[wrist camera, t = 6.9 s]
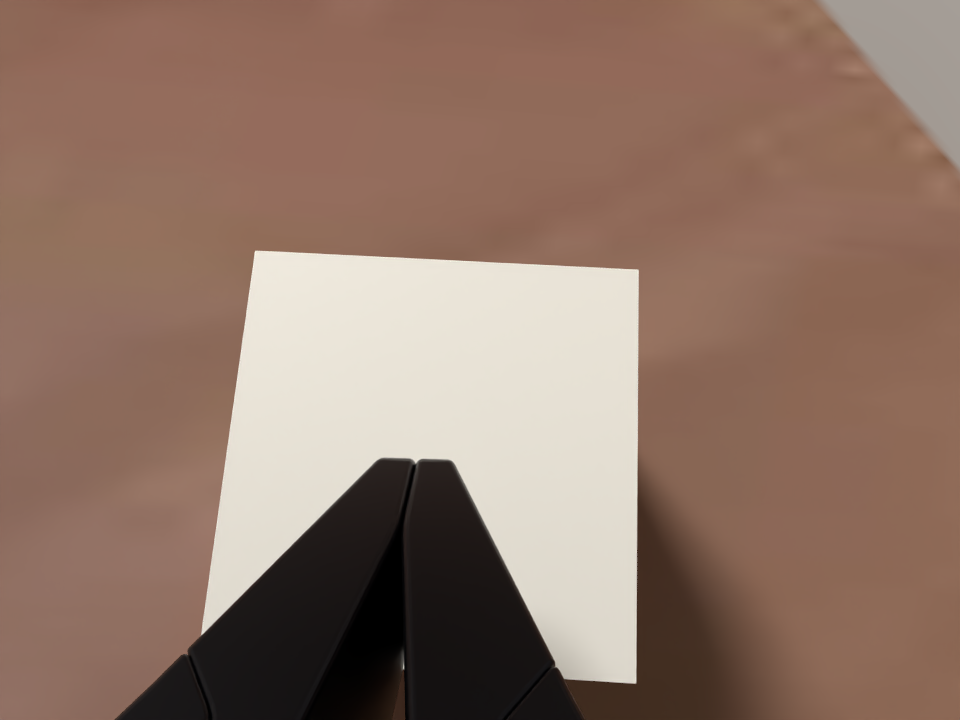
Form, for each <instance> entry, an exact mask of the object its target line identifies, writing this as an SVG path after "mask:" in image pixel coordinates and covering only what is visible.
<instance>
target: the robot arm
mask: <svg viewBox="0 0 960 720" xmlns="http://www.w3.org/2000/svg"><path fill="white" fill-rule="evenodd" d="M403 665H404V681H405V720H586V719H585V717H584V716H583V714H582V712H581V710H580V708H579V707H578V705H577V703H576V701H575V699H574V697H573V695H572V693H571V691H570V690H569V688H568V686H567V684H566V682H565V680H564V678H563V676H562V674H561V672H560V670H559V669H558V668H557V667H555V661H554V659H553V657H552V655H551V653H550V651H549V649H548V647H547V645H546V643H545V641H544V639H543V637H542V635H541V633H540V631H539V629H538V627H537V625H536V623H535V621H534V619H533V617H532V615H531V613H530V611H529V609H528V607H527V605H526V604H525V602H524V600H523V598H522V596H521V594H520V592H519V590H518V588H517V586H516V584H515V582H514V580H513V578H512V576H511V574H510V572H509V570H508V568H507V566H506V564H505V562H504V560H503V558H502V556H501V554H500V552H499V550H498V548H497V546H496V544H495V542H494V540H493V538H492V536H491V534H490V532H489V530H488V529H487V527H486V525H485V523H484V521H483V519H482V517H481V515H480V513H479V511H478V509H477V507H476V505H475V503H474V501H473V499H472V497H471V495H470V493H469V491H468V489H467V487H466V485H465V483H464V481H463V479H462V477H461V475H460V473H459V471H458V469H457V467H456V465H455V464H454V462H453V461H451V460H448V459H420V460H418V461H417V463H415V462H414V460H413V459H410V458H386V457H384V458H380V459H378V460H376V461H375V462H374V463H373V464H372V465H371V466H370V467H369V468H368V469H367V470H366V471H365V472H364V473H363V474H362V475H361V476H360V477H359V478H358V479H357V480H356V481H355V482H354V483H353V484H352V485H351V486H350V487H349V488H348V489H347V490H346V491H345V492H344V493H343V494H342V495H341V496H340V497H339V498H338V499H337V500H336V501H335V502H334V503H333V504H332V505H331V506H330V507H329V508H328V509H327V510H326V511H325V512H324V513H323V514H322V515H321V516H320V517H319V518H318V519H317V520H316V521H315V522H314V523H313V524H312V525H311V526H310V527H309V528H308V529H307V530H306V531H305V532H304V533H303V534H302V535H301V536H300V537H299V538H298V539H297V540H296V541H295V542H294V543H293V544H292V545H291V546H290V547H289V548H288V549H287V550H286V551H285V552H284V553H283V554H282V555H281V556H280V557H279V558H278V559H277V560H276V561H275V562H274V563H273V564H272V565H271V566H270V567H269V568H268V569H267V570H266V571H265V572H264V573H263V574H262V575H261V576H260V577H259V578H258V579H257V580H256V581H255V582H254V583H253V584H252V585H251V586H250V587H249V588H248V589H247V590H246V591H245V592H244V593H243V594H242V595H241V596H240V597H239V598H238V599H237V600H236V601H235V602H234V603H233V604H232V605H231V606H230V607H229V608H228V609H227V610H226V611H225V612H224V613H223V614H222V615H221V616H220V617H219V618H218V619H217V620H216V621H215V622H214V623H213V624H212V625H211V626H210V627H209V628H208V629H207V630H206V631H205V632H204V633H203V634H202V635H201V636H200V637H199V638H198V639H197V640H196V641H195V642H194V643H193V644H192V645H191V646H190V647H189V649H188V655H187V654H183V655H181V656H180V657H179V658H178V659H177V660H176V661H175V662H174V663H173V664H172V665H171V666H170V667H169V668H168V669H167V670H166V671H165V672H164V673H163V674H162V675H161V676H160V677H159V678H158V679H157V680H156V681H155V682H154V683H153V684H152V685H151V686H150V687H149V688H147V689H146V690H145V691H144V692H143V693H142V694H141V695H140V696H139V697H138V698H137V699H136V700H135V701H134V702H133V703H132V704H131V705H130V706H129V707H127V708H126V709H125V710H124V711H123V712H122V713H121V714H120V715H119V716H118V717H117V718H116V719H115V720H392V716H393V711H394V707H395V702H396V698H397V693H398V689H399V684H400V680H401V675H402V670H403Z"/></svg>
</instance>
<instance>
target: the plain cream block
mask: <svg viewBox="0 0 960 720" xmlns="http://www.w3.org/2000/svg"><path fill="white" fill-rule="evenodd" d="M637 452H638V270H632V269H612V268H592V267H572V266H552V265H532V264H512V263H492V262H472V261H452V260H432V259H412V258H391V257H371V256H351V255H331V254H311V253H291V252H271V251H255V256H254V263H253V270H252V277H251V284H250V292H249V299H248V306H247V313H246V320H245V327H244V334H243V341H242V348H241V356H240V363H239V370H238V377H237V384H236V391H235V398H234V405H233V412H232V419H231V427H230V434H229V441H228V448H227V455H226V462H225V469H224V476H223V483H222V491H221V498H220V505H219V512H218V519H217V526H216V533H215V540H214V547H213V555H212V562H211V569H210V576H209V583H208V590H207V597H206V604H205V611H204V618H203V626H202V633H201V635H202V634H203V633H204V632H205V631H206V630H207V629H208V628H209V627H210V626H211V625H212V624H213V623H214V622H215V621H216V620H217V619H218V618H219V617H220V616H221V615H222V614H223V613H224V612H225V611H226V610H227V609H228V608H229V607H230V606H231V605H232V604H233V603H234V602H235V601H236V600H237V599H238V598H239V597H240V596H241V595H242V594H243V593H244V592H245V591H246V590H247V589H248V588H249V587H250V586H251V585H252V584H253V583H254V582H255V581H256V580H257V579H258V578H259V577H260V576H261V575H262V574H263V573H264V572H265V571H266V570H267V569H268V568H269V567H270V566H271V565H272V564H273V563H274V562H275V561H276V560H277V559H278V558H279V557H280V556H281V555H282V554H283V553H284V552H285V551H286V550H287V549H288V548H289V547H290V546H291V545H292V544H293V543H294V542H295V541H296V540H297V539H298V538H299V537H300V536H301V535H302V534H303V533H304V532H305V531H306V530H307V529H308V528H309V527H310V526H311V525H312V524H313V523H314V522H315V521H316V520H317V519H318V518H319V517H320V516H321V515H322V514H323V513H324V512H325V511H326V510H327V509H328V508H329V507H330V506H331V505H332V504H333V503H334V502H335V501H336V500H337V499H338V498H339V497H340V496H341V495H342V494H343V493H344V492H345V491H346V490H347V489H348V488H349V487H350V486H351V485H352V484H353V483H354V482H355V481H356V480H357V479H358V478H359V477H360V476H361V475H362V474H363V473H364V472H365V471H366V470H367V469H368V468H369V467H370V466H371V465H372V464H373V463H374V462H375V461H376V460H378V459H380V458H384V457H386V458H410V459H413V460H414V462H415V463H417V461H418V460H420V459H448V460H451V461H453V462H454V464H455V465H456V467H457V469H458V471H459V473H460V475H461V477H462V479H463V481H464V483H465V485H466V487H467V489H468V491H469V493H470V495H471V497H472V499H473V501H474V503H475V505H476V507H477V509H478V511H479V513H480V515H481V517H482V519H483V521H484V523H485V525H486V527H487V529H488V530H489V532H490V534H491V536H492V538H493V540H494V542H495V544H496V546H497V548H498V550H499V552H500V554H501V556H502V558H503V560H504V562H505V564H506V566H507V568H508V570H509V572H510V574H511V576H512V578H513V580H514V582H515V584H516V586H517V588H518V590H519V592H520V594H521V596H522V598H523V600H524V602H525V604H526V605H527V607H528V609H529V611H530V613H531V615H532V617H533V619H534V621H535V623H536V625H537V627H538V629H539V631H540V633H541V635H542V637H543V639H544V641H545V643H546V645H547V647H548V649H549V651H550V653H551V655H552V657H553V659H554V661H555V667H557V668H558V669H559V670H560V672H561V674H562V676H563V678H564V679H570V680H586V681H602V682H618V683H634V684H636V636H637ZM403 669H404V665H403Z"/></svg>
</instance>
